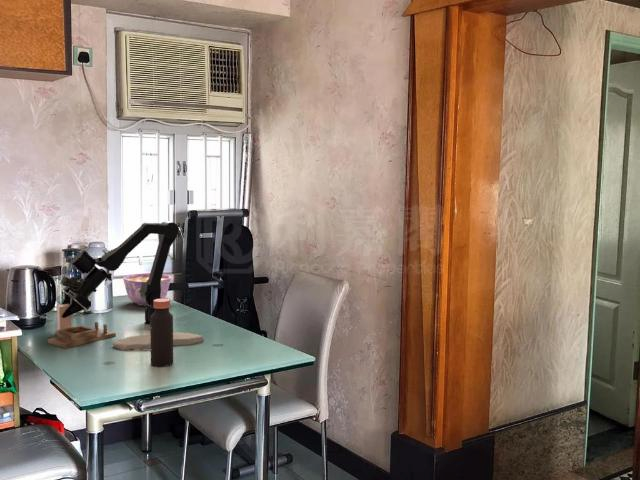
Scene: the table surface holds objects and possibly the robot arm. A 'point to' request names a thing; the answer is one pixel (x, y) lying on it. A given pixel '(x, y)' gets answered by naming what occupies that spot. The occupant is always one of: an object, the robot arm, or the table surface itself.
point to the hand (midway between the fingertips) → (60, 315)
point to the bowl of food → (135, 283)
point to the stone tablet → (145, 341)
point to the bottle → (161, 334)
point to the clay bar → (63, 322)
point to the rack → (80, 335)
